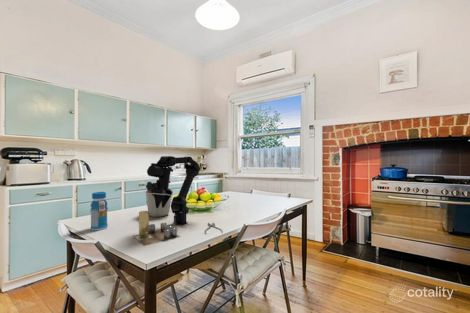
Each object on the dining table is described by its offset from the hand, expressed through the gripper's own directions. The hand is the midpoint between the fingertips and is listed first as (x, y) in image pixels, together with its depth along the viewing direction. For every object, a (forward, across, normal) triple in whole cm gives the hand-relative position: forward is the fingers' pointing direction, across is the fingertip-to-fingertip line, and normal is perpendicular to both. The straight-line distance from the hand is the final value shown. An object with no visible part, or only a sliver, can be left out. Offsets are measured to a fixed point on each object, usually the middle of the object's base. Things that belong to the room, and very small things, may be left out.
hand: (160, 207), depth 124 cm
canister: (+7, -37, -12) cm, 39 cm away
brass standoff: (+14, +10, -2) cm, 17 cm away
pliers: (+10, -8, +27) cm, 30 cm away
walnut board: (+14, +8, +3) cm, 16 cm away
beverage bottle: (+15, -8, -35) cm, 39 cm away
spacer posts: (+13, +6, +5) cm, 15 cm away
